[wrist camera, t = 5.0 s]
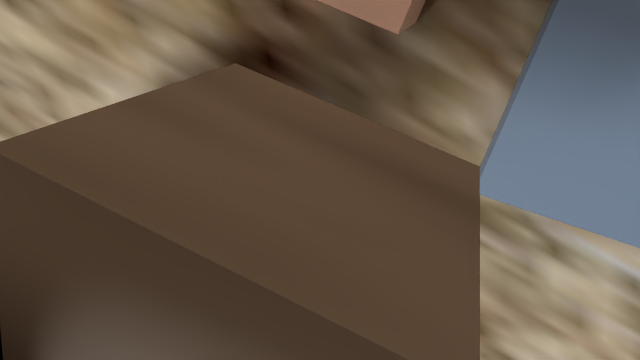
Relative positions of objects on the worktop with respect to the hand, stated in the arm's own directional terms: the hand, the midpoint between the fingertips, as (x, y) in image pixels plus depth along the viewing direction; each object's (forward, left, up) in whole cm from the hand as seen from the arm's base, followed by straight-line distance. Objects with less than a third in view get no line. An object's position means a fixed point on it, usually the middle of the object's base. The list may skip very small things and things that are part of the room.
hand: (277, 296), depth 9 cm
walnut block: (0, 0, -1) cm, 1 cm away
